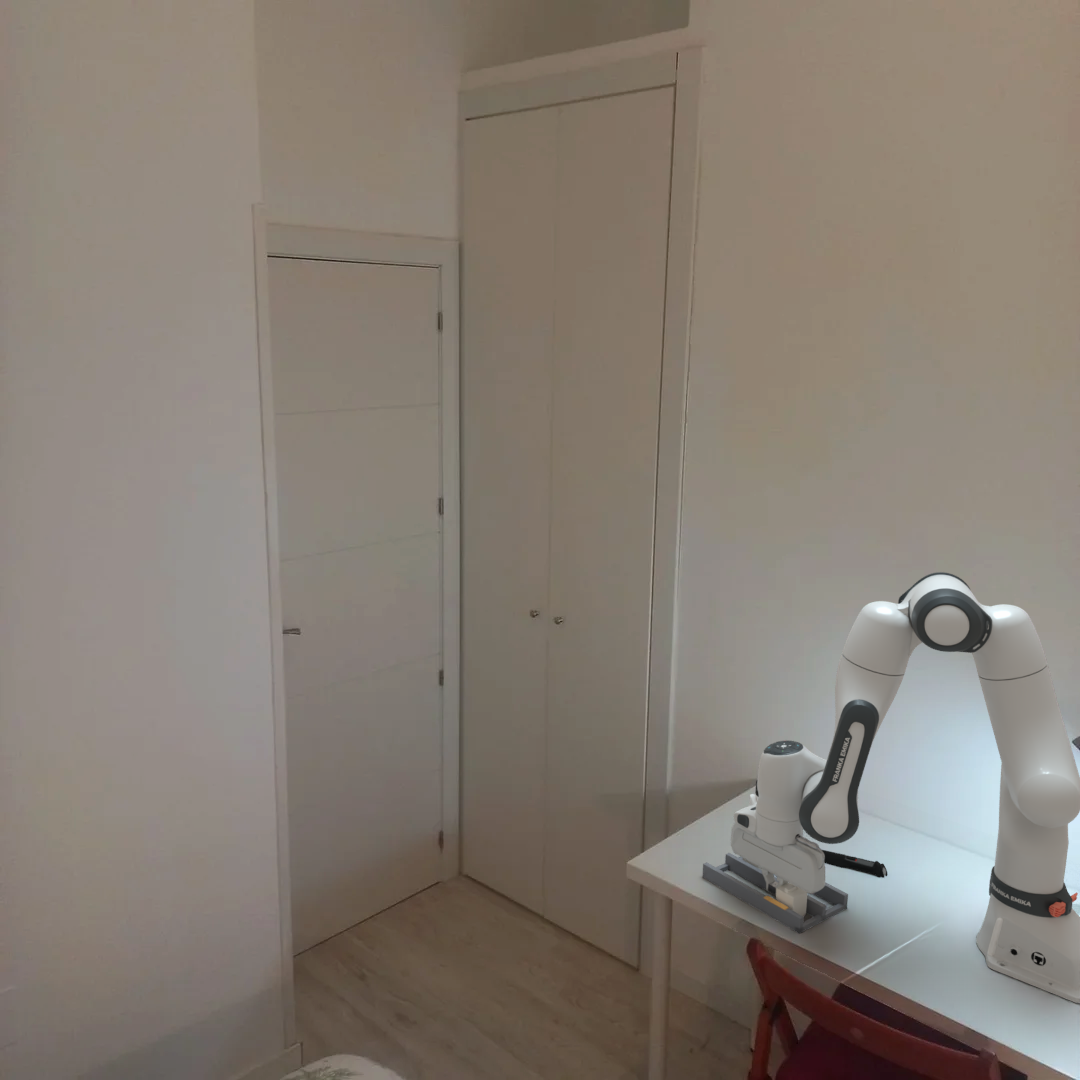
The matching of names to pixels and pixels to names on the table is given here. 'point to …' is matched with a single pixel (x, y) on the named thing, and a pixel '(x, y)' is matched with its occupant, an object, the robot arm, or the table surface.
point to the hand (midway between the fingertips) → (774, 892)
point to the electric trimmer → (855, 863)
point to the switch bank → (768, 903)
